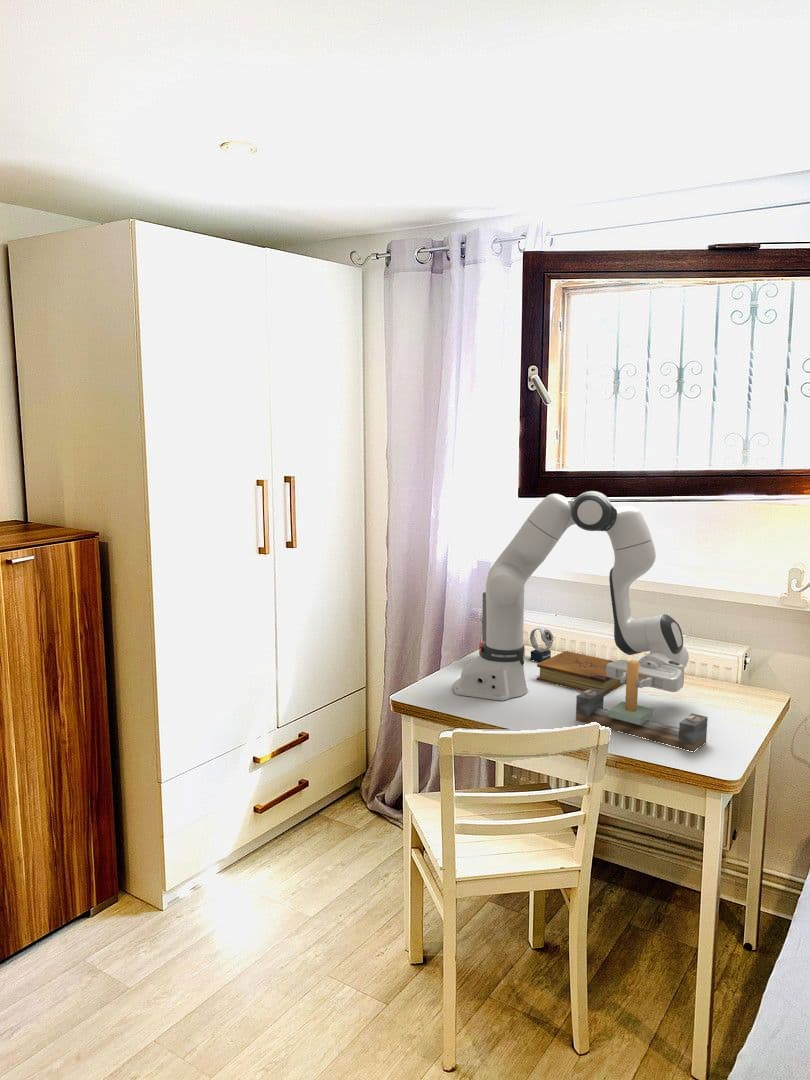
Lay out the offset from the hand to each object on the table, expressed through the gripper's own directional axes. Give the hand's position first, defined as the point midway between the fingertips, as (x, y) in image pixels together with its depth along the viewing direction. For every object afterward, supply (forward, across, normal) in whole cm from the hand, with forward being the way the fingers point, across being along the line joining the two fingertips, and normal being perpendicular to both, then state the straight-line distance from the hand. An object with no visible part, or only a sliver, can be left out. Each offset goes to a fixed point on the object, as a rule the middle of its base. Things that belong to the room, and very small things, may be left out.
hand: (630, 682), depth 218 cm
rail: (-1, +2, +13) cm, 13 cm away
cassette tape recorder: (-25, -58, +13) cm, 65 cm away
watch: (-36, -50, +13) cm, 63 cm away
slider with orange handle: (-1, 0, +9) cm, 10 cm away
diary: (-28, -29, +14) cm, 42 cm away
